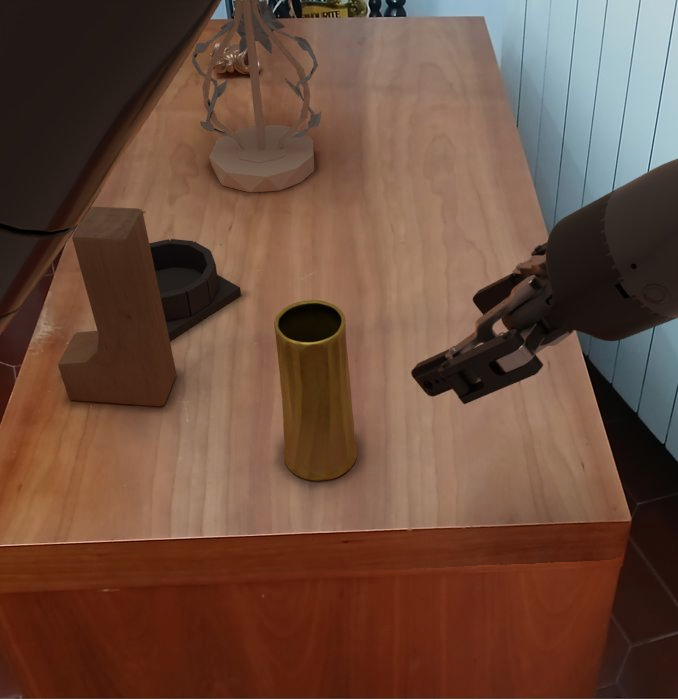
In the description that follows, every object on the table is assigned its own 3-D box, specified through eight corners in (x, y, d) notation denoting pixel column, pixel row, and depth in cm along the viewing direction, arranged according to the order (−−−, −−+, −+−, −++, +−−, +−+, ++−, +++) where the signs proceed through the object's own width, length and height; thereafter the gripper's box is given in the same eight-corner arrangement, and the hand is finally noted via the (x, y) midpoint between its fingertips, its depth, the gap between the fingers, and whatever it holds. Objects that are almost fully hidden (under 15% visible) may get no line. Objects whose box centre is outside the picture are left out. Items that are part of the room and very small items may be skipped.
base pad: (164, 344, 88) (157, 312, 85) (101, 303, 93) (93, 271, 91) (241, 295, 93) (237, 262, 91) (178, 258, 99) (172, 227, 96)
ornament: (197, 73, 133) (193, 49, 131) (228, 56, 137) (225, 32, 135) (238, 86, 130) (235, 61, 127) (269, 68, 134) (267, 44, 131)
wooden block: (67, 401, 82) (13, 233, 71) (84, 367, 86) (35, 202, 74) (164, 408, 81) (126, 238, 70) (178, 374, 85) (143, 206, 73)
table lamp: (354, 121, 120) (343, -237, 94) (350, 212, 104) (336, -191, 78) (189, 124, 121) (133, -229, 95) (160, 215, 105) (83, -182, 79)
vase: (271, 444, 78) (254, 312, 68) (335, 418, 80) (327, 286, 70) (304, 493, 73) (290, 359, 64) (370, 463, 75) (367, 330, 66)
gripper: (661, 132, 52) (467, 244, 64) (563, 262, 43) (360, 362, 55) (735, 236, 53) (530, 326, 66) (655, 383, 44) (436, 455, 57)
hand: (452, 343), depth 60 cm, fingers open, 8 cm apart
